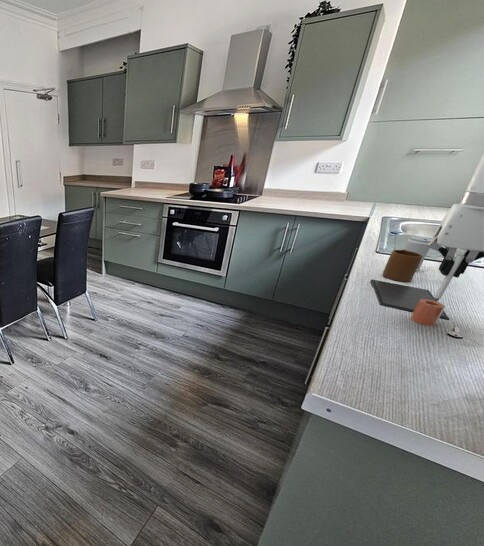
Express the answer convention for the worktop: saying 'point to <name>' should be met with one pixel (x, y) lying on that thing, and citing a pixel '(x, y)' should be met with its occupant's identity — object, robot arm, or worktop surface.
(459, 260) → the stylus
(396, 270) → the mug
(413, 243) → the beverage can
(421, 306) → the pen pot
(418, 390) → the worktop surface
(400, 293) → the plate
